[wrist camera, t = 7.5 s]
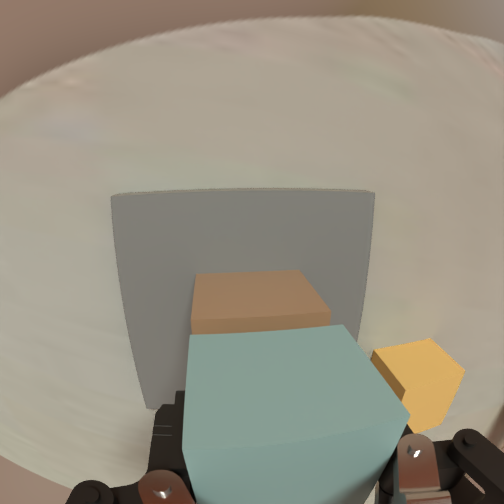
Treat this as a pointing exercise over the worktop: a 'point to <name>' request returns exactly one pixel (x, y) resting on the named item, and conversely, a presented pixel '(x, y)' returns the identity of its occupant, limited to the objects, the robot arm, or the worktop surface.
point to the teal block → (286, 418)
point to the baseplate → (235, 268)
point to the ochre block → (420, 380)
